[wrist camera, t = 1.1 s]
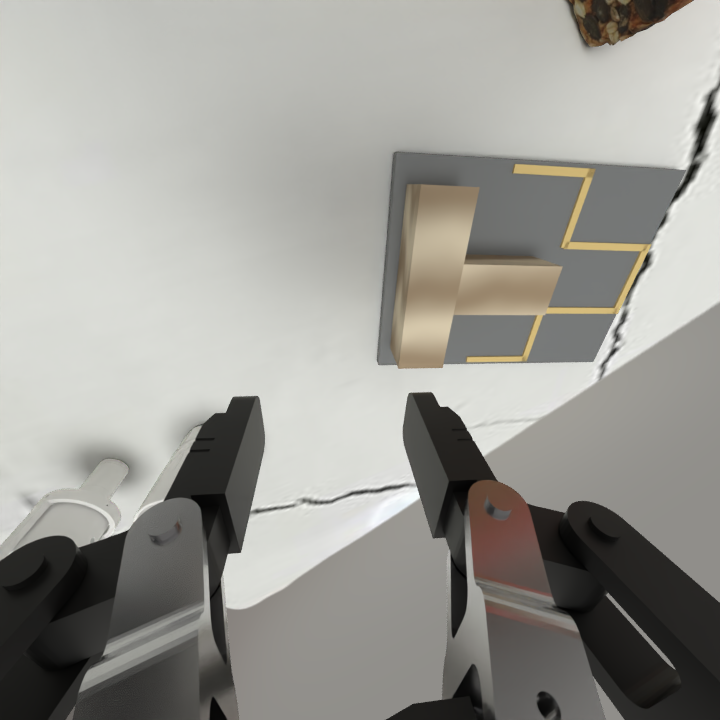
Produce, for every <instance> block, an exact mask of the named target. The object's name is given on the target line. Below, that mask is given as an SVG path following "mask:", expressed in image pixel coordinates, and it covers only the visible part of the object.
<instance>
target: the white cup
mask: <svg viewBox="0 0 720 720" xmlns="http://www.w3.org/2000/svg"><path fill="white" fill-rule="evenodd" d="M201 426H202V425H200V426H197V427H194V428H193V429H192V430H191V431H190V432H189V433H188V434H187V435H186V437H185V438H184V440H183V442H182V443H181V445H180V447H179V448H178V449H177V450H176V452H175V453H174V454H173V456H172V457H171V459H170V461H169V462H168V464H167V465H166V467H165V468H164V470H163V471H162V473H161V474H160V476H159V477H158V479H157V481H156V482H155V484H154V486H153V487H152V489H151V490H150V492H149V494H148V495H147V497H146V498H145V500H144V502H143V503H142V505H141V506H140V508H139V510H138V511H137V513H136V514H135V516H134V519H133V523H134V522H135V521H136V520H137V518H139V517H140V516H141V515H142V514H143V513H144V512H145V511H147V510H148V509H149V508H151V507H153V506H154V505H156V504H158V503H160V502H163V501H164V499H165V497H166V495H167V493H168V491H169V489H170V488H171V486H172V484H173V482H174V480H175V478H176V476H177V474H178V472H179V470H180V468H181V466H182V464H183V462H184V460H185V458H186V456H187V454H188V453H189V452H190V448H191V446H192V444H193V442H194V441H195V438H196V436H197V434H198V432H199V430H200V428H201Z"/></svg>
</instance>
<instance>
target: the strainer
mask: <svg viewBox="0 0 720 720" xmlns="http://www.w3.org/2000/svg"><path fill="white" fill-rule="evenodd" d="M128 472H129V468H128V466H127V465H126V464H125V463H124V462H122V461H120V460H117V459H105V460H102V461H101V462H100V463H99V464H98V466H97V467H96V468H95V470H94V471H93V472H92V473H91V475H90V476H89V477H88V478H87V480H86V481H85V482H84V483H83V484H82V485H81V487H80V488H79V489H60V490H55V491H52V492H50V493H48V494H46V495H45V496H44V497H43V498H42V499H41V500H40V501H39V502H38V503H37V504H36V505H35V506H34V508H33V509H32V510H31V512H30V513H29V514H28V516H27V517H26V518H25V519H24V520H23V521H22V522H21V523H20V524H19V526H18V527H17V528H16V529H15V530H14V531H13V532H12V533H11V534H10V536H9V537H8V538H7V539H6V540H5V541H4V542H3V543H2V545H1V546H0V561H1V560H2V559H4V558H5V557H6V556H8V555H9V554H11V553H12V552H14V551H15V550H17V549H19V548H20V547H22V546H24V545H26V544H28V543H31V542H33V541H35V540H38V539H41V538H44V537H49V536H57V535H60V536H66V537H69V538H71V539H72V540H73V541H74V542H75V544H76V545H77V547H78V548H79V547H82V546H85V545H88V544H91V543H94V542H97V541H100V540H103V539H106V538H108V537H109V536H110V535H111V534H112V533H113V532H114V530H115V529H116V527H117V525H118V524H119V522H120V520H121V512H120V510H119V508H118V507H117V506H116V504H114V503H113V502H112V501H111V500H110V499H111V497H112V496H113V494H114V492H115V491H116V490H117V488H118V487H119V485H120V484H121V482H122V481H123V479H124V478H125V477H126V475H127V474H128Z"/></svg>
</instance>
